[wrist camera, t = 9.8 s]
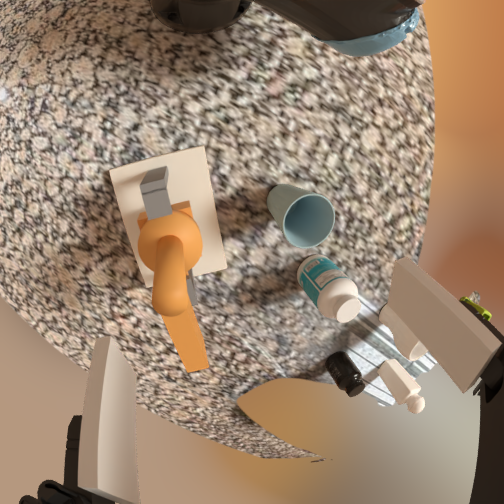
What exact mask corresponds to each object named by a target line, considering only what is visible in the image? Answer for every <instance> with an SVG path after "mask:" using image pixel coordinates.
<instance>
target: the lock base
mask: <svg viewBox="0 0 504 504" xmlns="http://www.w3.org/2000/svg"><path fill="white" fill-rule="evenodd" d="M109 172H110V176H111V180H112V184H113V187H114V191H115V195H116V198H117V202H118V205H119V209H120V212H121V215H122V219H123V222H124V225H125V228H126V231H127V235H128V238H129V241H130V244H131V247H132V250H133V252H134V255H135V258H136V261H137V264H138V266H139V269H140V272H141V275H142V277H143V280H144V282H145V285H146V288H148V287H153V280H154V272H153V271H151V270H150V269H149V268H148V267H146V266H145V264H144V263H143V262H142V260H141V258H140V256H139V253H138V239H139V235H140V229H139V226H138V223H137V219H138V217H139V214H140V213H141V212H145V211H146V213H147V217H148V220H152V219H155V218H159V217H163V216H167V215H171V214H172V207H171V205H172V204H176V203H180V202H184V201H188V200H189V201H190V206H191V210H192V214H193V219H194V220H195V222H196V223H197V225H198V227H199V229H200V233H201V237H202V243H203V249H202V256H201V257H200V259H199V261H198V262H197V263H196V265H195V266H194V267H193V268H192V269H190V270H189V271H188V274H189V275H187V276H186V283H187V292H188V296H189V299H190V302H191V305H192V306H194V305H198V302H197V296H196V290H195V283H194V276H198V275H202V274H206V273H210V272H214V271H218V270H222V269H226V268H227V263H226V258H225V254H224V249H223V244H222V239H221V234H220V229H219V224H218V218H217V213H216V208H215V203H214V198H213V192H212V187H211V182H210V176H209V171H208V165H207V160H206V154H205V148H204V146H203V145H202V146H197V147H193V148H188V149H184V150H179V151H175V152H171V153H166V154H162V155H158V156H155V157H151V158H147V159H143V160H140V161H136V162H133V163H129V164H126V165H122V166H119V167H116V168H113V169H111V170H109Z"/></svg>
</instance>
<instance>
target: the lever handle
mask: <svg viewBox="0 0 504 504" xmlns="http://www.w3.org/2000/svg"><path fill="white" fill-rule="evenodd" d="M171 207H172V214H171V215H167V216H163V217H159V218H155V219H152V220H148V217H147V213H146V211H145V212H141V213H140V214H139V217H138V219H137V223H138V226H139V229H140V235H139V239H138V253H139V256H140V258H141V260H142V262H143V263H144V264H145V266H146V267H148V268H149V269H150V270H151V271H153V272H154V280H153V292H152V305H153V308H154V309H155V310H156V311H157V312H158V313H159V314H161V316H162V318H163V320H164V323H165V325H166V327H167V330H168V332H169V334H170V336H171V339H172V341H173V343H174V345H175V347H176V349H177V352H178V354H179V356H180V358H181V360H182V362H183V364H184V366H185V368H186V370H187V372H192V371H197V370H201V369H205V368H209V365H208V360H207V355H206V349H205V344H204V339H203V336H202V334H201V331H200V328H199V325H198V322H197V319H196V317H195V314H194V311H193V308H192V305H191V302H190V299H189V296H188V292H187V283H186V276H187V275H189V274H188V271H189V270H190V269H192V268H193V267H194V266H195V265H196V263H197V262H198V261H199V259H200V257H201V256H202V249H203V243H202V237H201V233H200V229H199V227H198V225H197V223H196V222H195V220H194V219H193V214H192V210H191V206H190V201H189V200H188V201H184V202H180V203H176V204H172V205H171Z"/></svg>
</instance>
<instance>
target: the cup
mask: <svg viewBox="0 0 504 504" xmlns="http://www.w3.org/2000/svg"><path fill="white" fill-rule="evenodd" d="M267 207H268V209H269V211H270V212H271V214H272V216H273V217H274V219H275V221H276V222H277V224H278V226H279V227H280V229H281V231H282V233H283V234H284V236H285V238H286V239H287V241H288V242H289V243H290V244H292V245H293V246H295V247H298V248H304V249H306V248H312V247H315V246H317V245H319V244H320V243H322V242H323V241H324V240H325V239H326V238H327V237H328V236H329V234H330V233H331V231H332V229H333V226H334V222H335V212H334V208H333V206H332V204H331V202H330V201H329V200H328V199H327V198H326V197H324V196H322V195H319V194H316V193H313V192H310V191H307V190H304V189H301V188H298V187H294V186H291V185H287V184H280V185H278V186H276V187H274V188H273V189H272V190H271V191H270V192H269V194H268V197H267Z"/></svg>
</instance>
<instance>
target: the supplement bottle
mask: <svg viewBox="0 0 504 504" xmlns="http://www.w3.org/2000/svg"><path fill="white" fill-rule="evenodd" d="M325 366H326V369H327V370H328V372H329V373H330V375H331V377H332V378H333V380H334V381H335V383H336V384H337V386H338V387H339V389H341V390H345V391H346V393H347V394H348V396H349V397H353V396H356V395H358V394H359V393H361V392H362V391H363V390H364V388H365V385H364V383H363V381H362V380H361V378H362V374H361V372H360V371H359V369H358V368H357V367H356V365H355V364H354V362H353V361H352V360H351V358H350V357H349V356H348V354H347V353H346V352H343V351H340V352H337V353H334V354H333V355H331V356H330V357H329V358H328V359H327V361H326V364H325Z"/></svg>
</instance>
